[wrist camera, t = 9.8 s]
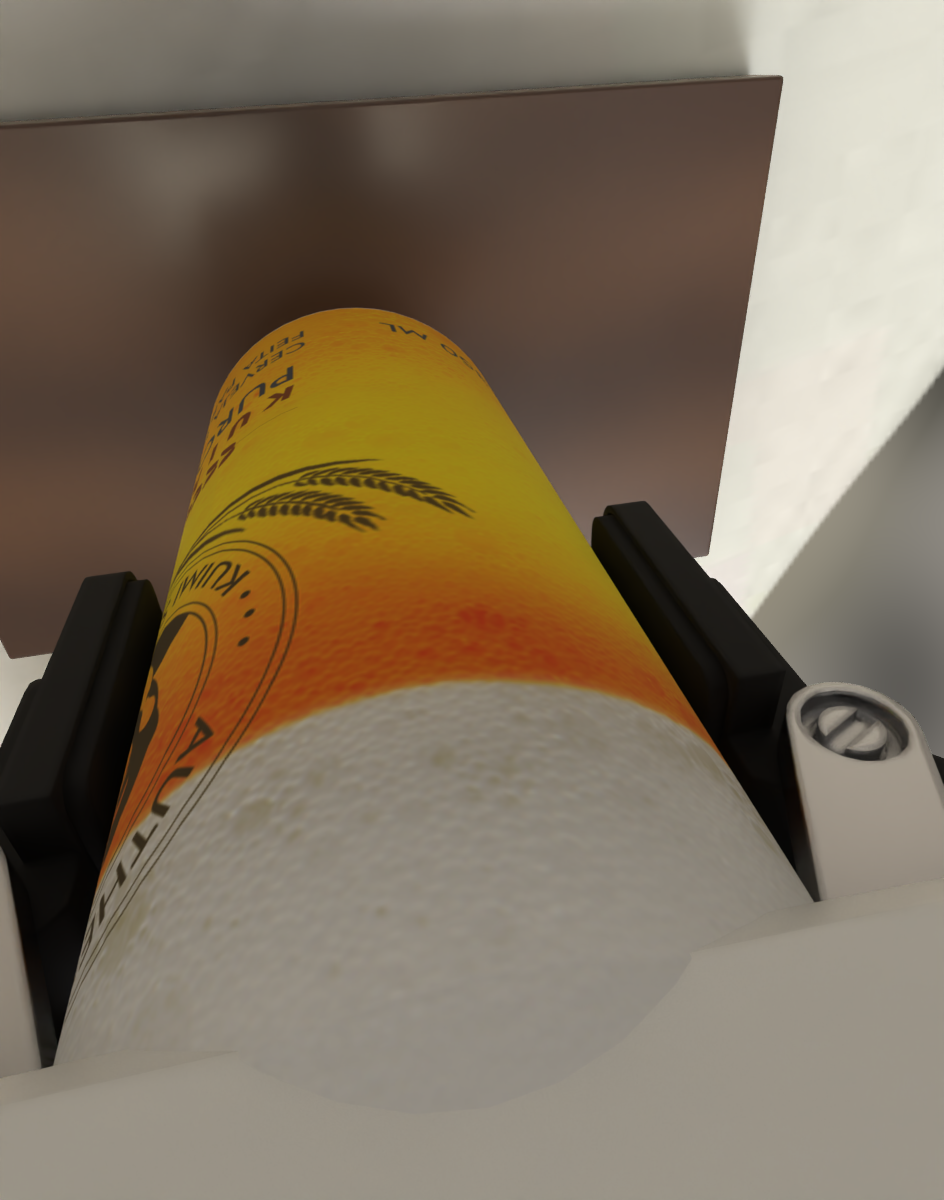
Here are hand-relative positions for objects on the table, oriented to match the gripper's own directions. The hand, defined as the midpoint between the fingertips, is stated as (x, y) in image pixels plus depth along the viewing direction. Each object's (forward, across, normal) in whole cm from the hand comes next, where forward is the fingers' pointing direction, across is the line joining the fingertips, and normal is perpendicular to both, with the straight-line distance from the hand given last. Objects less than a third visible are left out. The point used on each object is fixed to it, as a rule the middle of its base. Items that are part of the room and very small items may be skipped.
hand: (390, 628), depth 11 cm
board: (+10, 0, 0) cm, 10 cm away
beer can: (+7, 0, 0) cm, 7 cm away
